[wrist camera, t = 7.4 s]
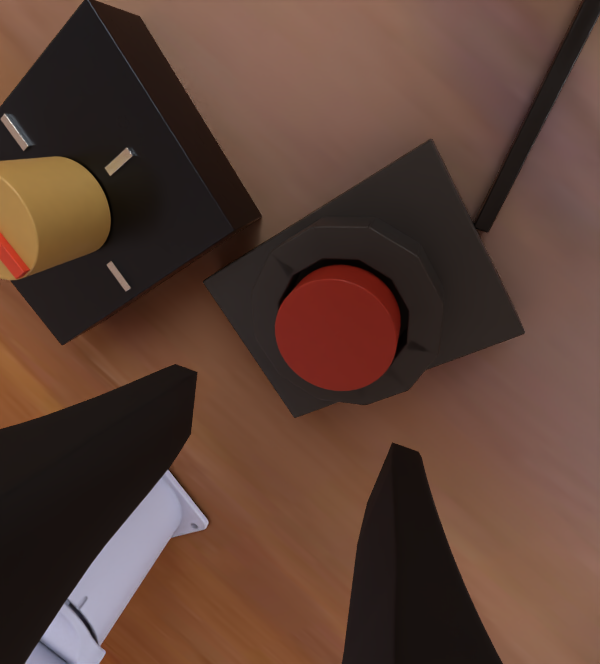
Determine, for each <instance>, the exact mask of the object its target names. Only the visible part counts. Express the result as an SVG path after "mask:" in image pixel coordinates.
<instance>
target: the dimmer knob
mask: <svg viewBox="0 0 600 664" xmlns="http://www.w3.org/2000/svg"><path fill="white" fill-rule="evenodd" d="M110 225H111V216H110V209H109V205H108V201H107V199H106V196H105V194H104V192H103V190H102V188H101V186H100V185H99V183H98V182H97V180H96V179H95V178H94V176H93V175H92V174H91V173H90V172H89V171H88V170H87V169H86V168H84V167H83V166H82V165H80V164H79V163H77V162H75V161H73V160H71V159H68V158H65V157H58V156H54V157H42V158H30V159H18V160H6V161H0V279H4V280H18V279H22V278H25V277H27V276H30V275H33V274H35V273H38V272H41V271H44V270H46V269H49V268H52V267H54V266H57V265H60V264H63V263H65V262H68V261H71V260H73V259H76V258H79V257H81V256H84V255H87V254H90V253H92V252H94V251H96V250H98V249H99V248H100V247H101V246H102V245H103V244H104V243H105V241H106V239H107V237H108V235H109V231H110Z"/></svg>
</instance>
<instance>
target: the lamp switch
mask: <svg viewBox="0 0 600 664" xmlns="http://www.w3.org/2000/svg"><path fill="white" fill-rule="evenodd" d="M400 327H401V315H400V309H399V306H398V303H397V301H396V299H395V296H394V295H393V293H392V292H391V290H390V289H389V288H388V286H387V285H386V284H385V283H384V282H383V281H382V280H381V279H380V278H378V277H377V276H375V275H374V274H373V273H371V272H369V271H367V270H365V269H362V268H359V267H356V266H351V265H343V264H339V265H329V266H325V267H322V268H319V269H317V270H315V271H313V272H311V273H310V274H308V275H307V276H306V277H304V278H303V279H302V280H301V281H300V282H299V284H298V285H297V286H296V287H295V288H294V289H293V290H292V291H291V293H290V294H289V295H288V296H287V297H286V298H285V299H284V301H283V303H282V304H281V306H280V308H279V310H278V313H277V316H276V322H275V336H276V342H277V345H278V348H279V351H280V353H281V355H282V357H283V358H284V360H285V361H286V363H287V364H288V366H289V367H290V368H291V369H292V370H293V371H294V372H295V373H296V374H297V375H299V376H300V377H301V378H303V379H304V380H306V381H307V382H309V383H311V384H313V385H315V386H318V387H321V388H324V389H328V390H334V391H350V390H356V389H359V388H363V387H365V386H367V385H370V384H371V383H373V382H375V381H376V380H378V379H379V378H380V377H381V376H382V375H383V374H384V373H385V372H386V371H387V369H388V368H389V366H390V365H391V363H392V361H393V359H394V356H395V353H396V348H397V343H398V338H399V333H400Z"/></svg>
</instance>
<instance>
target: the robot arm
mask: <svg viewBox="0 0 600 664" xmlns="http://www.w3.org/2000/svg"><path fill="white" fill-rule="evenodd" d="M196 380H197V372H196V371H193V370H190V369H187V368H184V367H182V366H179V365H176V364H175V365H172V366H169V367H167V368H164V369H162V370H159V371H157V372H155V373H152V374H150V375H148V376H145V377H143V378H141V379H138V380H136V381H134V382H131V383H129V384H127V385H124V386H122V387H119V388H117V389H114V390H112V391H109V392H107V393H105V394H102V395H100V396H97V397H95V398H92V399H89V400H87V401H84V402H81V403H79V404H76V405H73V406H70V407H68V408H65V409H62V410H59V411H57V412H54V413H51V414H48V415H45V416H42V417H39V418H36V419H33V420H30V421H27V422H24V423H20V424H17V425H13V426H10V427H6V428H3V429H0V664H99V663H100V662H101V660H102V658H103V657H104V655H105V654H106V652H105V650H104V649H102V648H101V647H100V645H101V644H102V642H103V641H104V639H105V638H106V636H107V635H108V633H109V632H110V630H111V629H112V627H113V626H114V624H115V622H116V621H117V619H118V618H119V616H120V615H121V613H122V612H123V610H124V609H125V607H126V606H127V604H128V603H129V601H130V599H131V598H132V596H133V595H134V593H135V592H136V590H137V589H138V587H139V586H140V584H141V583H142V581H143V580H144V578H145V576H146V575H147V573H148V572H149V570H150V569H151V567H152V566H153V564H154V563H155V561H156V560H157V558H158V557H159V555H160V553H161V552H162V550H163V549H164V547H165V546H166V544H167V543H168V541H169V540H170V538H172V537H176V536H180V535H184V534H188V533H192V532H196V531H200V530H204V529H206V527H207V526H208V524H209V522H208V520H207V518H206V517H205V516H204V514H203V513H202V512H201V511H200V509H199V508H198V507H197V505H196V504H195V503H194V502H193V500H192V499H191V498H190V497H189V495H188V494H187V493H186V492H185V490H184V489H183V488H182V486H181V485H180V484H179V483H178V481H177V480H176V479H175V478H174V476H173V475H172V474H171V473H170V471H169V470H168V469H169V468H170V466H171V464H172V463H173V461H174V460H175V458H176V457H177V455H178V454H179V452H180V451H181V449H182V447H183V446H184V444H185V443H186V441H187V439H188V438H189V436H190V434H191V427H192V418H193V408H194V399H195V389H196ZM342 664H503V663H502V661H501V659H500V658H499V656H498V654H497V652H496V650H495V648H494V646H493V644H492V642H491V640H490V638H489V636H488V634H487V632H486V630H485V628H484V626H483V624H482V622H481V620H480V617H479V615H478V613H477V611H476V609H475V607H474V604H473V602H472V600H471V598H470V595H469V593H468V591H467V589H466V586H465V584H464V581H463V579H462V577H461V574H460V572H459V570H458V567H457V565H456V562H455V560H454V557H453V555H452V552H451V549H450V547H449V544H448V541H447V538H446V536H445V533H444V530H443V527H442V524H441V522H440V519H439V516H438V513H437V510H436V507H435V504H434V500H433V497H432V494H431V491H430V487H429V484H428V480H427V477H426V473H425V469H424V465H423V461H422V457H421V455H420V453H419V452H417V451H415V450H412V449H409V448H406V447H404V446H401V445H398V444H395V443H393V442H392V445H391V447H390V449H389V452H388V454H387V457H386V459H385V461H384V464H383V466H382V469H381V471H380V473H379V476H378V478H377V481H376V483H375V485H374V488H373V490H372V492H371V495H370V497H369V500H368V502H367V506H366V510H365V514H364V518H363V522H362V527H361V531H360V535H359V540H358V544H357V551H356V559H355V567H354V575H353V583H352V591H351V599H350V607H349V615H348V623H347V631H346V639H345V647H344V654H343V660H342Z"/></svg>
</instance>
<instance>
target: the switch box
mask: <svg viewBox="0 0 600 664" xmlns="http://www.w3.org/2000/svg"><path fill="white" fill-rule="evenodd" d="M339 264H343V265H351V266H356V267H359V268H362V269H365V270H367V271H369V272H371V273H373V274H374V275H375V276H377V277H378V278H380V279H381V280H382V281H383V282H384V283H385V284H386V285H387V286H388V288H389V289H390V290H391V292H392V293H393V295H394V296H395V299H396V301H397V303H398V306H399V309H400V315H401V327H400V333H399V338H398V343H397V348H396V353H395V356H394V359H393V361H392V363H391V365H390V366H389V368H388V369H387V371H386V372H385V373H384V374H383V375H382V376H381V377H380V378H379V379H378V380H376V381H375V382H373V383H371V384H370V385H367V386H365V387H363V388H359V389H356V390H350V391H334V390H328V389H324V388H321V387H318V386H315V385H313V384H311V383H309V382H307V381H306V380H304V379H303V378H301V377H300V376H299V375H297V374H296V373H295V372H294V371H293V370H292V369H291V368H290V367H289V366H288V364H287V363H286V361H285V360H284V358H283V357H282V355H281V353H280V351H279V348H278V345H277V342H276V336H275V322H276V316H277V313H278V310H279V308H280V306H281V304H282V303H283V301H284V299H285V298H286V297H287V296H288V295H289V294H290V293H291V291H292V290H293V289H294V288H295V287H296V286H297V285H298V284H299V282H300V281H301V280H302V279H303V278H304V277H306V276H307V275H308V274H310V273H311V272H313V271H315V270H317V269H319V268H322V267H325V266H329V265H339ZM203 283H204V285H205V286H206V287H207V289H208V290H209V292H210V293H211V295H212V296H213V298H214V299H215V301H216V302H217V304H218V305H219V307H220V308H221V310H222V311H223V313H224V314H225V316H226V317H227V319H228V320H229V322H230V323H231V325H232V326H233V328H234V329H235V331H236V332H237V333H238V335H239V336H240V338H241V339H242V341H243V342H244V344H245V345H246V347H247V348H248V350H249V351H250V353H251V354H252V356H253V357H254V359H255V360H256V362H257V363H258V365H259V366H260V368H261V369H262V371H263V372H264V374H265V375H266V376H267V378H268V379H269V381H270V382H271V384H272V385H273V387H274V388H275V390H276V391H277V393H278V394H279V396H280V397H281V399H282V400H283V402H284V403H285V405H286V406H287V408H288V409H289V411H290V412H291V414H292V415H293V417H294V418H296V417H299V416H302V415H305V414H307V413H310V412H313V411H315V410H318V409H321V408H324V407H326V406H329V405H332V404H335V403H337V402H343V403H351V404H359V405H368V404H371V403H373V402H376V401H379V400H382V399H385V398H388V397H390V396H393V395H396V394H399V393H402V392H405V391H408V390H409V389H410V388H411V387H412V386H413V384H414V383H415V382H416V381H417V380H418V378H419V377H420V376H421V375H422V374H423V372H424V371H425V370H427V369H430V368H433V367H435V366H438V365H441V364H443V363H446V362H449V361H452V360H454V359H457V358H460V357H463V356H465V355H468V354H471V353H473V352H476V351H479V350H482V349H484V348H487V347H490V346H492V345H495V344H498V343H501V342H503V341H506V340H509V339H512V338H514V337H517V336H520V335H522V334H524V333H525V331H524V328H523V326H522V324H521V321H520V319H519V316H518V314H517V312H516V310H515V308H514V306H513V304H512V302H511V300H510V298H509V296H508V293H507V291H506V289H505V287H504V285H503V283H502V281H501V279H500V277H499V275H498V273H497V271H496V269H495V267H494V265H493V263H492V261H491V258H490V256H489V254H488V252H487V250H486V248H485V246H484V244H483V242H482V240H481V238H480V236H479V234H478V232H477V230H476V228H475V226H474V224H473V221H472V219H471V217H470V215H469V213H468V211H467V209H466V207H465V205H464V203H463V201H462V199H461V197H460V195H459V193H458V191H457V189H456V186H455V184H454V182H453V180H452V178H451V176H450V174H449V172H448V170H447V168H446V166H445V164H444V162H443V160H442V158H441V156H440V154H439V152H438V149H437V147H436V145H435V143H434V141H433V139H429V140H427V141H426V142H424V143H423V144H421V145H419V146H418V147H416V148H415V149H413V150H411V151H410V152H408V153H407V154H405V155H403V156H402V157H400V158H399V159H397V160H395V161H394V162H392V163H391V164H389V165H387V166H386V167H384V168H383V169H381V170H379V171H378V172H376V173H375V174H373V175H371V176H370V177H368V178H367V179H365V180H363V181H362V182H360V183H358V184H357V185H355V186H354V187H352V188H350V189H349V190H347V191H346V192H344V193H342V194H341V195H339V196H338V197H336V198H334V199H333V200H331V201H330V202H328V203H326V204H325V205H323V206H322V207H320V208H318V209H317V210H315V211H314V212H312V213H310V214H309V215H307V216H306V217H304V218H302V219H301V220H299V221H298V222H296V223H294V224H293V225H291V226H290V227H288V228H286V229H285V230H283V231H282V232H280V233H278V234H277V235H275V236H274V237H272V238H270V239H269V240H267V241H265V242H264V243H262V244H261V245H259V246H257V247H256V248H254V249H253V250H251V251H249V252H248V253H246V254H245V255H243V256H241V257H240V258H238V259H237V260H235V261H233V262H232V263H230V264H229V265H227V266H225V267H224V268H222V269H221V270H219V271H217V272H216V273H214V274H213V275H211V276H210V277H208V278H207V279H205V280H204V281H203Z"/></svg>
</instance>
